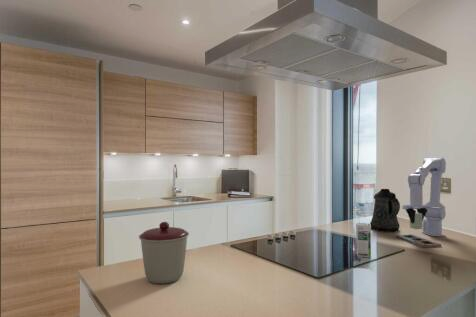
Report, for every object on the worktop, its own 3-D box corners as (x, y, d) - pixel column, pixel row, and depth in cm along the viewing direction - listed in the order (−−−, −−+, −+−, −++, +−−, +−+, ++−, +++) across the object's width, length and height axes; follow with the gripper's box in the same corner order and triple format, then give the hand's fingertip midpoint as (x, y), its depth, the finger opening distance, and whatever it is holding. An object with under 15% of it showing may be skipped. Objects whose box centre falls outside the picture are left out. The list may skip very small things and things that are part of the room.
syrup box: (357, 256, 142) (356, 224, 142) (356, 253, 148) (356, 222, 148) (370, 258, 141) (370, 225, 141) (369, 254, 146) (369, 222, 146)
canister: (137, 273, 123) (137, 219, 123) (184, 267, 130) (183, 216, 130) (140, 291, 106) (140, 229, 106) (194, 284, 113) (193, 224, 113)
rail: (396, 237, 177) (396, 234, 177) (412, 236, 178) (412, 234, 178) (423, 247, 156) (423, 244, 156) (441, 246, 157) (441, 244, 157)
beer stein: (378, 225, 208) (377, 187, 208) (409, 230, 193) (409, 189, 193) (365, 229, 197) (364, 189, 197) (397, 234, 182) (396, 191, 182)
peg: (410, 227, 169) (410, 212, 169) (417, 227, 170) (417, 212, 170) (415, 229, 165) (415, 213, 165) (422, 228, 166) (422, 213, 166)
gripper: (408, 198, 163) (408, 224, 163) (434, 197, 164) (434, 223, 164) (399, 196, 170) (399, 221, 170) (424, 195, 171) (425, 221, 171)
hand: (416, 222), depth 167 cm, fingers closed on peg, 4 cm apart
